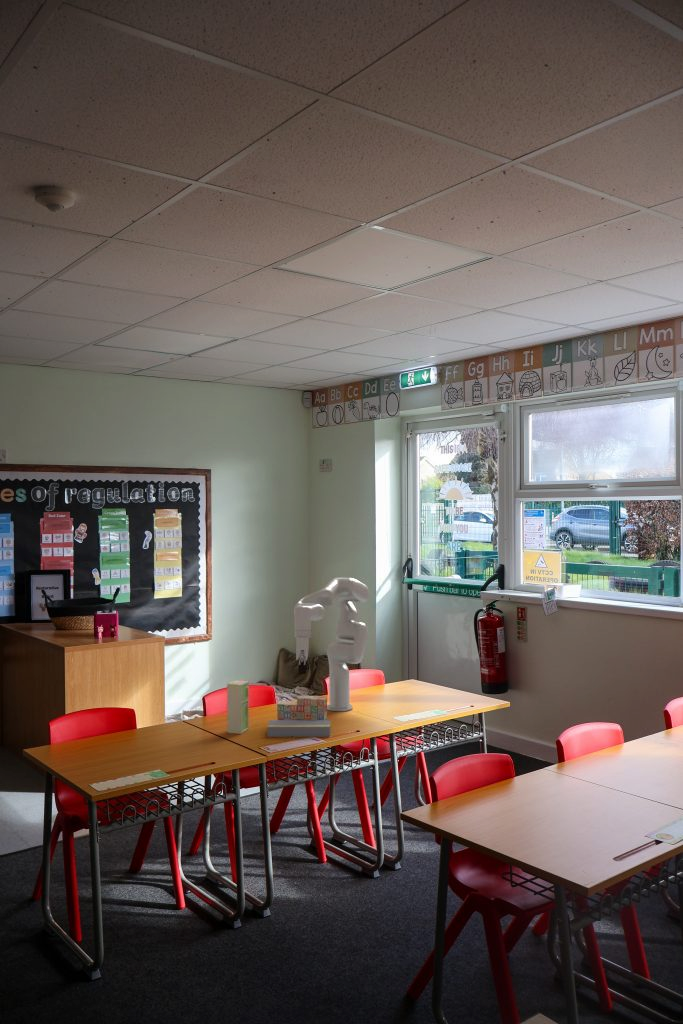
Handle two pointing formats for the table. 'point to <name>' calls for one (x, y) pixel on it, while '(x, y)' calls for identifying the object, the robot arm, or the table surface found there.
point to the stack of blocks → (303, 709)
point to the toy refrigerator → (237, 706)
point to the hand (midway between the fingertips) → (302, 672)
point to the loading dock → (298, 728)
